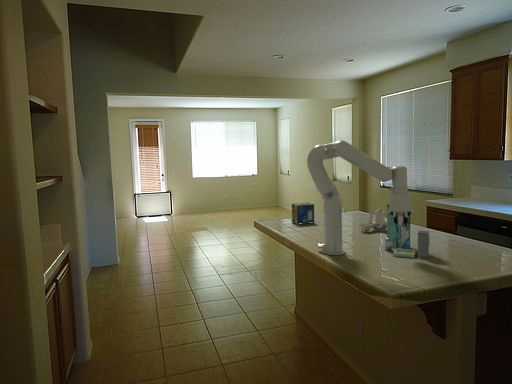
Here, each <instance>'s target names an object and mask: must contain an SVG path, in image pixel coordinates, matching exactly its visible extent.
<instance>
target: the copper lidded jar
mask: <svg viewBox="0 0 512 384" xmlns="http://www.w3.org/2000/svg"><path fill="white" fill-rule="evenodd" d="M396 216H397V226H405V223H404V218H405V213H404V212H396Z"/></svg>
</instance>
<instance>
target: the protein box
mask: <svg viewBox="0 0 512 384" xmlns="http://www.w3.org/2000/svg"><path fill="white" fill-rule="evenodd" d="M292 222H294V223H296V224H295V225H297V224H299V223H309V222H314V223H315V204H314V203H311V202H302V203H301V202H298V203H297V202H296V203H291V223H292ZM294 223H293V224H294ZM299 225H300V224H299Z"/></svg>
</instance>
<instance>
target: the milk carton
mask: <svg viewBox="0 0 512 384" xmlns="http://www.w3.org/2000/svg"><path fill="white" fill-rule="evenodd" d="M389 206H390V202H388V203H387V204H386V210H387V209H388V208H389ZM410 211H411V210H410ZM410 211H409V212H410ZM391 212H392V211H391ZM409 212H408V213H409ZM393 213H394V212H393ZM386 223H387V229H386V237H391V238H393V240H392V249H394V250H395V249H396V248H399V249H409V248H411V214H410V215H409V216H408V223H407V224H406V225H405V226H397V225H395V223H394V217H393V216H392V215H391V214H390V213H388V212H387V211H386Z"/></svg>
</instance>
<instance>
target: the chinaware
mask: <svg viewBox="0 0 512 384" xmlns="http://www.w3.org/2000/svg"><path fill="white" fill-rule="evenodd" d="M374 214H375V215H374V216H373V212H372V211H369V219H368V223H359V225H358V227H360V228H359V230H361V231H362V232H364V231H365V232H364V233H368V232H370V231H371V229H373V230H374V232H377V231H384V232H387V221H386V220H385V216H387V213H386V212H385V211H383V210H382V209H381V207H378V209H377V210H374ZM373 217H375V219H374V221H373ZM367 231H368V232H367Z"/></svg>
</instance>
